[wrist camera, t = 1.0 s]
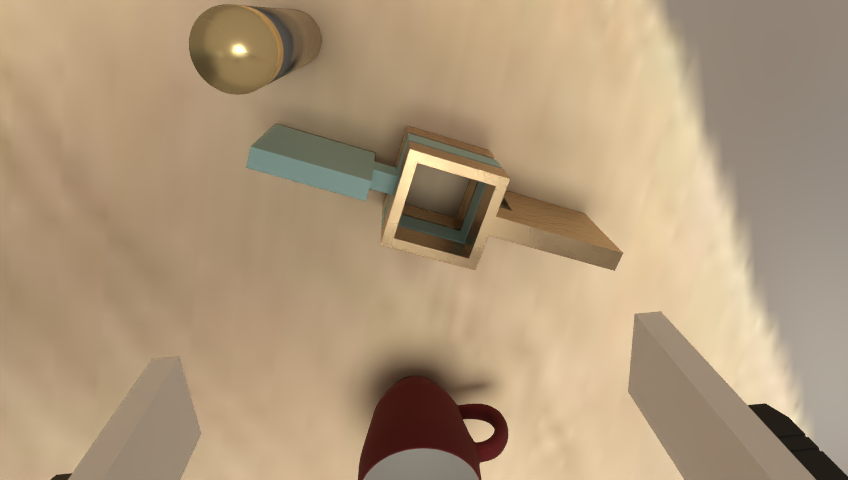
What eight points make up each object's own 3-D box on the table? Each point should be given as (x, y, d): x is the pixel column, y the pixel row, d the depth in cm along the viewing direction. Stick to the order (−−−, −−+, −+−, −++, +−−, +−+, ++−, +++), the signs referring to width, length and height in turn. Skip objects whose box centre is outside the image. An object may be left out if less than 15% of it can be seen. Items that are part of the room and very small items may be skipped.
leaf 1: (490, 151, 36) (510, 179, 30) (462, 229, 38) (475, 270, 32) (283, 88, 34) (259, 104, 28) (265, 174, 36) (238, 206, 30)
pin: (263, 56, 34) (183, 79, 21) (274, 2, 33) (196, -9, 20) (314, 72, 34) (266, 104, 21) (326, 19, 33) (284, 20, 20)
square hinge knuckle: (382, 205, 38) (380, 244, 31) (407, 125, 36) (409, 149, 29) (565, 257, 40) (598, 303, 34) (598, 183, 38) (640, 218, 32)
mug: (481, 333, 42) (505, 422, 33) (504, 413, 45) (532, 515, 36) (350, 369, 43) (339, 465, 33) (382, 445, 46) (379, 554, 37)
